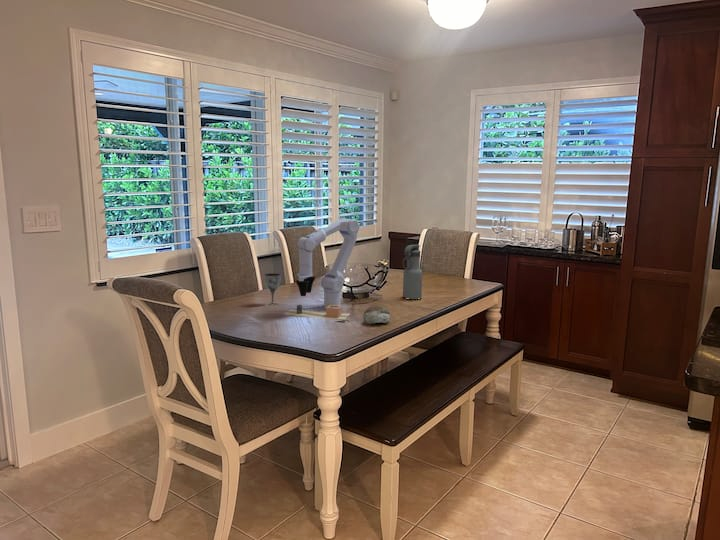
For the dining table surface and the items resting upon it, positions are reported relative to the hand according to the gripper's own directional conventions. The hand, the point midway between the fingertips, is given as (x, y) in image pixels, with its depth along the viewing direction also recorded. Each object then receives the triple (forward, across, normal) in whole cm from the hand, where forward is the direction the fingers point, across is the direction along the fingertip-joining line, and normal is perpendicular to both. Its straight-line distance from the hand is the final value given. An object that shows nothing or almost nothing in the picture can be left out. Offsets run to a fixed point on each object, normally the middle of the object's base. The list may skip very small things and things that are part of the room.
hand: (305, 294), depth 243 cm
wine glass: (+10, -14, -21) cm, 27 cm away
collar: (+8, +3, +14) cm, 16 cm away
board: (+9, +3, +6) cm, 12 cm away
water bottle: (+10, -48, +43) cm, 65 cm away
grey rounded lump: (+10, +4, +34) cm, 36 cm away
